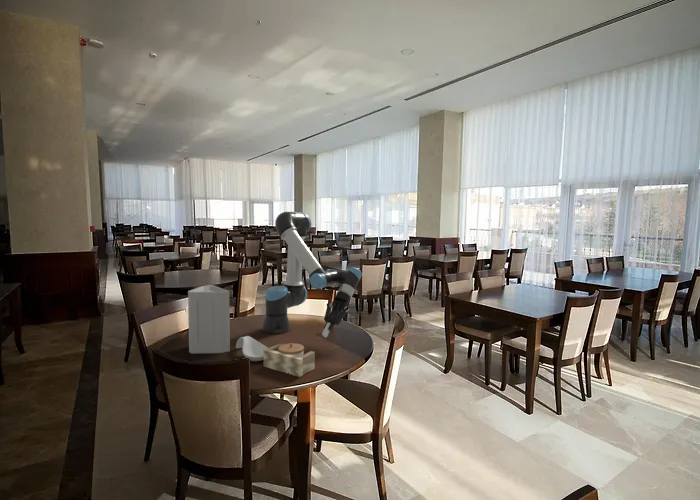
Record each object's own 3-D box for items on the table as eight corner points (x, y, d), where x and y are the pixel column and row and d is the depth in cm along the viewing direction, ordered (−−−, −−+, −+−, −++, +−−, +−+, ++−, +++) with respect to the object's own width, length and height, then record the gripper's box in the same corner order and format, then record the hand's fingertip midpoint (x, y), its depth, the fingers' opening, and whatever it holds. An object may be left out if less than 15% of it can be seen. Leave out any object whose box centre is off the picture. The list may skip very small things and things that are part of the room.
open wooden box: (263, 366, 160) (263, 350, 159) (279, 358, 168) (279, 343, 168) (299, 377, 150) (299, 359, 149) (314, 368, 159) (314, 352, 158)
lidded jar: (306, 361, 166) (306, 340, 166) (300, 371, 156) (300, 348, 155) (282, 359, 167) (282, 338, 167) (274, 369, 157) (275, 347, 156)
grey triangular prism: (181, 347, 180) (180, 288, 178) (212, 340, 190) (211, 284, 188) (198, 358, 166) (197, 295, 164) (230, 350, 177) (230, 291, 174)
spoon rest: (275, 360, 167) (275, 344, 166) (250, 367, 159) (250, 350, 159) (251, 345, 185) (251, 331, 184) (227, 350, 177) (227, 335, 177)
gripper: (357, 301, 192) (338, 342, 180) (336, 296, 199) (316, 336, 187) (352, 292, 187) (332, 334, 175) (330, 288, 194) (309, 329, 182)
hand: (324, 335), depth 181 cm, fingers closed
